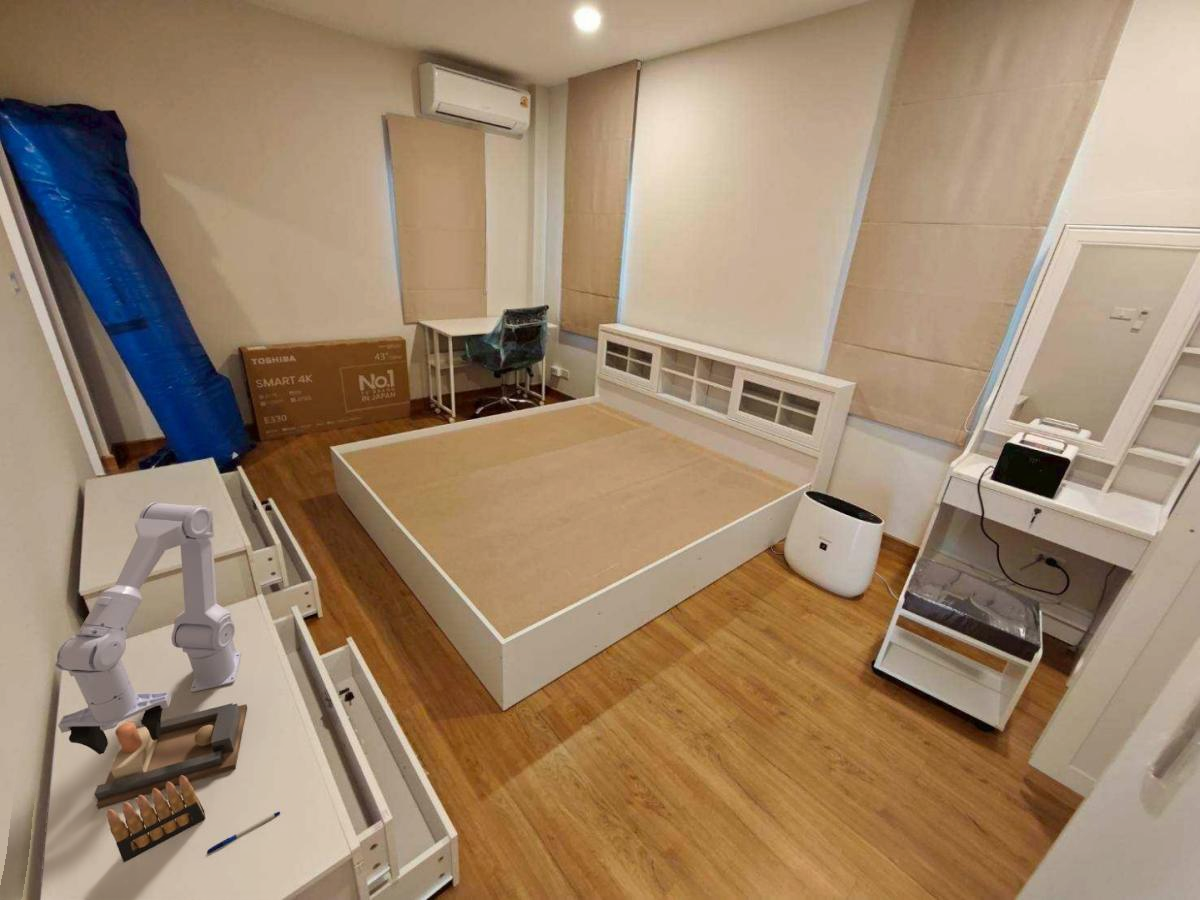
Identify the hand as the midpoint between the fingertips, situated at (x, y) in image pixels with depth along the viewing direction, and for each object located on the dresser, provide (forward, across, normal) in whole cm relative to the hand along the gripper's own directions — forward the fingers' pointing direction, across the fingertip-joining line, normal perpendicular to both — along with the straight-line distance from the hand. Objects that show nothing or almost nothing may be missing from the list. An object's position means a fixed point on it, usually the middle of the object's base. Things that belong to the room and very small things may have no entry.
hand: (130, 741), depth 92 cm
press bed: (+6, +6, 0) cm, 9 cm away
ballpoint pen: (+7, +19, -20) cm, 29 cm away
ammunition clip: (+7, +8, -16) cm, 19 cm away
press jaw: (+5, 0, 0) cm, 5 cm away
